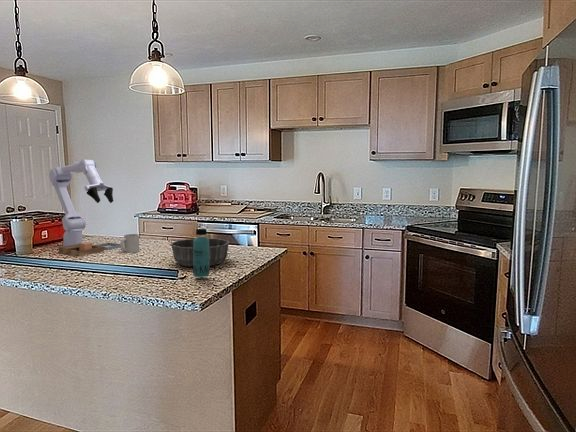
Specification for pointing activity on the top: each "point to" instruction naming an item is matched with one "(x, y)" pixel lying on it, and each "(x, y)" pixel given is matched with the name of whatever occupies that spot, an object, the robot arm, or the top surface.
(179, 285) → the top surface
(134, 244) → the cup
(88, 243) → the stone block
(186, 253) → the bundt pan
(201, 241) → the beverage bottle
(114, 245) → the dump tray
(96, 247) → the wooden pallet
